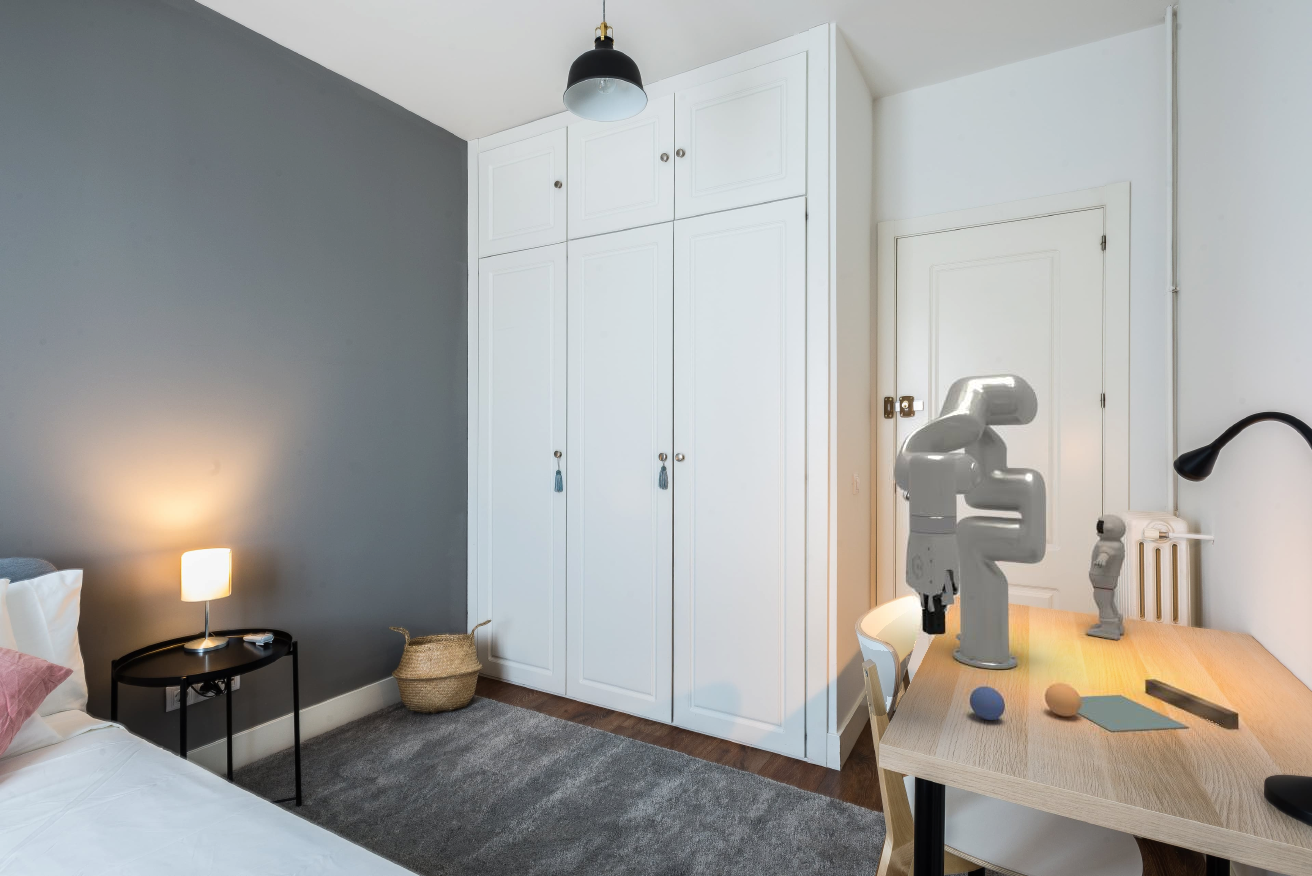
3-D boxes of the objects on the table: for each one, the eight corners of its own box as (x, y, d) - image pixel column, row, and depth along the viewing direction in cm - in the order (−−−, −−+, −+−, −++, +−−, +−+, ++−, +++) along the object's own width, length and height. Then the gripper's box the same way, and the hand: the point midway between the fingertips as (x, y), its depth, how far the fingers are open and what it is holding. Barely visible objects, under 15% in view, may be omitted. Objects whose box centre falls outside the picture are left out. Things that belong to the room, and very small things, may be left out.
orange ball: (1038, 709, 115) (1037, 679, 115) (1066, 708, 116) (1065, 678, 116) (1059, 722, 110) (1059, 690, 110) (1089, 721, 110) (1088, 689, 110)
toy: (1099, 620, 174) (1098, 509, 175) (1137, 626, 169) (1135, 511, 169) (1074, 644, 153) (1073, 517, 154) (1116, 651, 148) (1114, 520, 148)
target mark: (1050, 699, 120) (1050, 698, 120) (1120, 696, 121) (1120, 694, 121) (1111, 732, 106) (1111, 730, 106) (1189, 728, 107) (1189, 726, 107)
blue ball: (963, 713, 114) (963, 682, 114) (992, 711, 114) (992, 681, 114) (981, 726, 108) (981, 693, 108) (1012, 724, 109) (1011, 692, 109)
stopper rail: (1145, 692, 123) (1145, 679, 123) (1155, 692, 123) (1154, 679, 123) (1227, 729, 107) (1227, 713, 107) (1238, 728, 107) (1238, 713, 107)
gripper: (891, 521, 118) (892, 622, 118) (934, 531, 103) (936, 647, 103) (930, 520, 119) (931, 620, 118) (979, 531, 104) (980, 645, 104)
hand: (933, 632), depth 111 cm, fingers closed
